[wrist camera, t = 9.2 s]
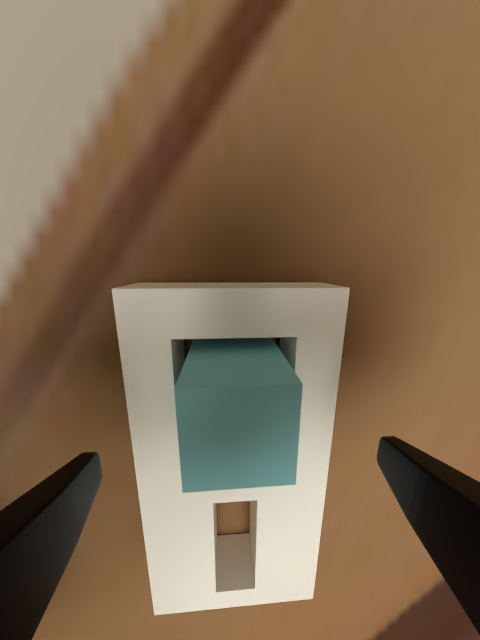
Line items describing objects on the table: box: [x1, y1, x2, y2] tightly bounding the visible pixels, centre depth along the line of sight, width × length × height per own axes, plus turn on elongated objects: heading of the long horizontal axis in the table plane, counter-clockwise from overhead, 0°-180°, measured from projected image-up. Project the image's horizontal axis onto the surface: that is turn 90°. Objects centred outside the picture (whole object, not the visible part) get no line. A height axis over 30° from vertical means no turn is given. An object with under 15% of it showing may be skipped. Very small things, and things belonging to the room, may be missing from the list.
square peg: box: [174, 337, 303, 493], centre depth 11 cm, size 4×4×6 cm
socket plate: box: [112, 282, 350, 615], centre depth 13 cm, size 10×20×3 cm, turn 0°
